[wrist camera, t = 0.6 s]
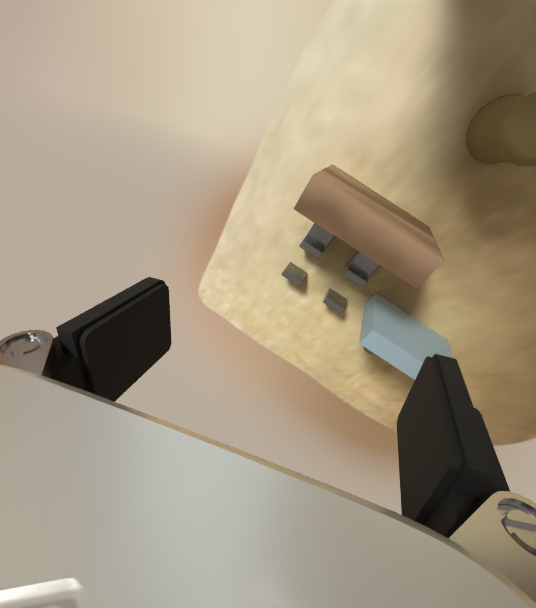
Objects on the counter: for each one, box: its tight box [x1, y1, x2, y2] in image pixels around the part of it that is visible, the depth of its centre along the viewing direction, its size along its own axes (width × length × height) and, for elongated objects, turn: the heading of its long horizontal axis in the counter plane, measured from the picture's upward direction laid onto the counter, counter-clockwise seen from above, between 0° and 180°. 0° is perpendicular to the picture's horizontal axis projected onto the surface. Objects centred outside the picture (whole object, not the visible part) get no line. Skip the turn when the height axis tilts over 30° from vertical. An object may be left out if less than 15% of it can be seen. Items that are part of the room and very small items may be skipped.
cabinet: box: [294, 165, 445, 289], centre depth 33 cm, size 4×14×12 cm, turn 62°
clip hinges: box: [282, 223, 379, 314], centre depth 41 cm, size 12×10×3 cm
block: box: [359, 293, 453, 380], centre depth 40 cm, size 4×12×10 cm, turn 62°
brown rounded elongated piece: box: [467, 92, 536, 166], centre depth 26 cm, size 6×6×11 cm
